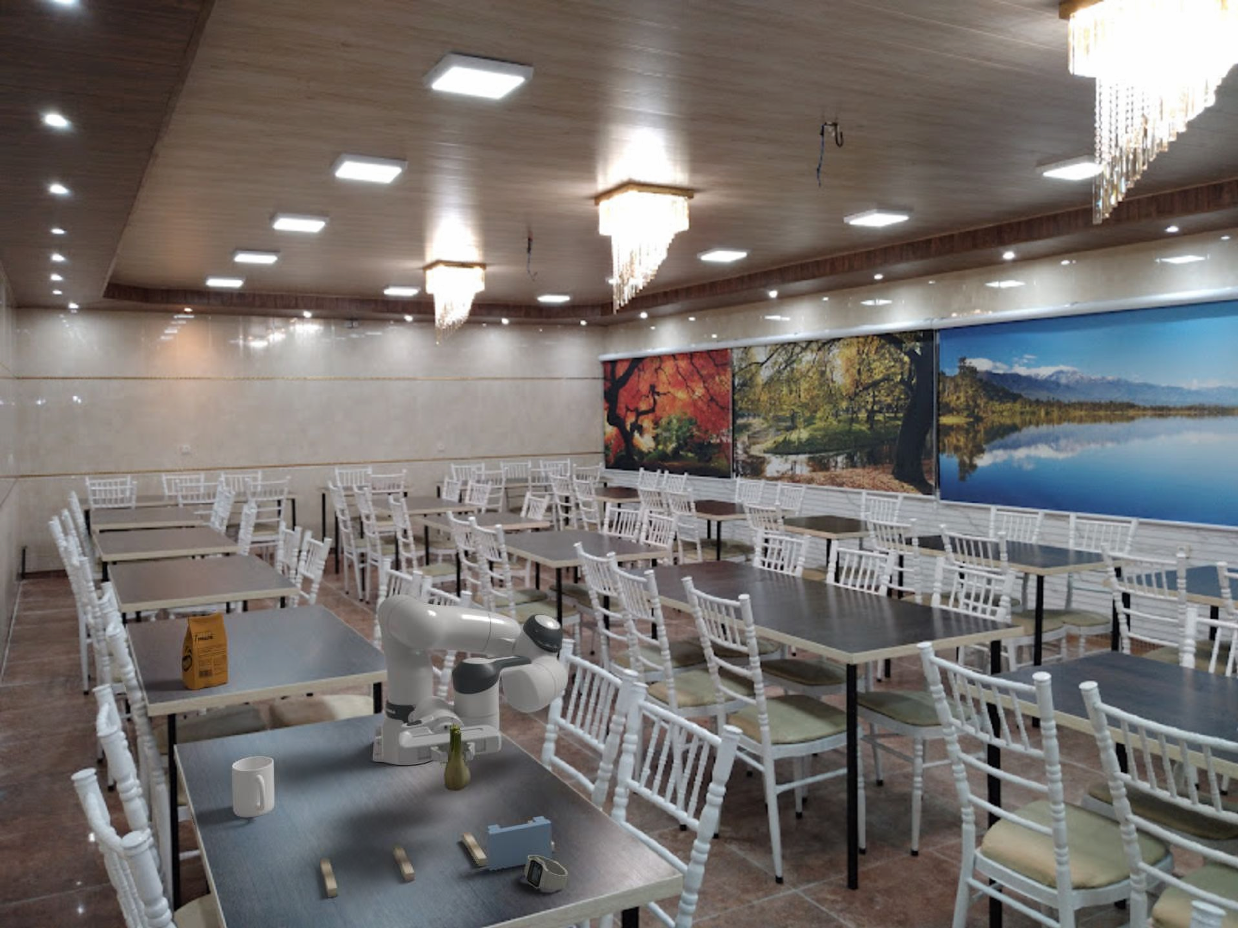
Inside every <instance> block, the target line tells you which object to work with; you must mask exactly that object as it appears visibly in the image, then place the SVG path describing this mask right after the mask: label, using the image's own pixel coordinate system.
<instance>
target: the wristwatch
mask: <svg viewBox="0 0 1238 928" xmlns="http://www.w3.org/2000/svg"><path fill="white" fill-rule="evenodd" d="M524 865H525V866H524V870H523V873H524V876H525V878H526V879H527V883H528V884H529V886H532V887H534V889H537V890H538V889H540V888H545V889H548V890H553V891H559V890H564V888H565V887H566V883H567V879H568V874H569V872H568V871H567V869H566V868H565V867H563V865H561V864H560V863H559V862H558V861H556V860H552V859H548V858H545V857H542V856H538V855H529V856H528V857H527V861H526V864H524Z"/></svg>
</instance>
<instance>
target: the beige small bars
mask: <svg viewBox="0 0 1238 928" xmlns="http://www.w3.org/2000/svg"><path fill="white" fill-rule="evenodd" d="M526 822H527V823H526V824H528V823H533V819H532V820H527V821H526ZM461 836H462V837H461V839H462V840H463V841H462V842H463V844H464V843H465V844H464V846H465V845H466V846H467V847H466V846H465V847H466V849H467V848H468V849H467V850H468V852H469V854H470V853H471V854H470V855H471V857H472V856H473V857H474V858H473V857H472V858H473V860H474V859H475V860H474V862H475V861H476V862H475V864H476V865H477V864H478V865H477V866H478V867H479V866H482V867H486V866H485V865H487V866H488V857H487V856H486V855H485V853H484V852H483V850H482V848H481V847H480V846H479V844H478V843H477V841H476V839H475V837H474V836H473V835H472V833H471V831H468V832H462V833H461ZM392 848H393V851H392V853H393V855H395V856H394V858H395V857H396V858H395V860H396V859H397V860H396V862H398V863H397V865H398V866H399V869H400V872H401V873H402V876H403V878H404V880H405V882H406V883H407V882H413V881H415V871H414V868H413V866H412V864H411V862H410V859H409V858H408V855H407V854H406V852H405V850H404V848H403V845H402V844H397V845H394V846H392ZM554 852H555V842H554V841H552V853H554ZM319 864H320V868H319V869H320V871H321V875H322V878H323V883H324V887H325V889H326V894H327V897H328V898H333V897H338V885H337V882H336V879H335V875H334V872H333V868H332V865H331V862H330V859H329V858H323V859H320V860H319Z"/></svg>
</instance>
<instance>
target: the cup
mask: <svg viewBox="0 0 1238 928" xmlns="http://www.w3.org/2000/svg"><path fill="white" fill-rule="evenodd" d="M274 763H275V762H274V759H273V758H271V757H269V756H261V755H260V756H250V757H245V758H242V759H239V760H237V761H235V762H233V764H232V765H231V780H232V781H231V782H232V784H231V786H232V788H231V789H232V810H233V813H234V815H236V816H237V817H241V818H256V817H261V816H263V815H266V814H268V813H269V812H271V811H272V810H273V808H275V774H274V773H275V769H274V767H275V766H274Z"/></svg>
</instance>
